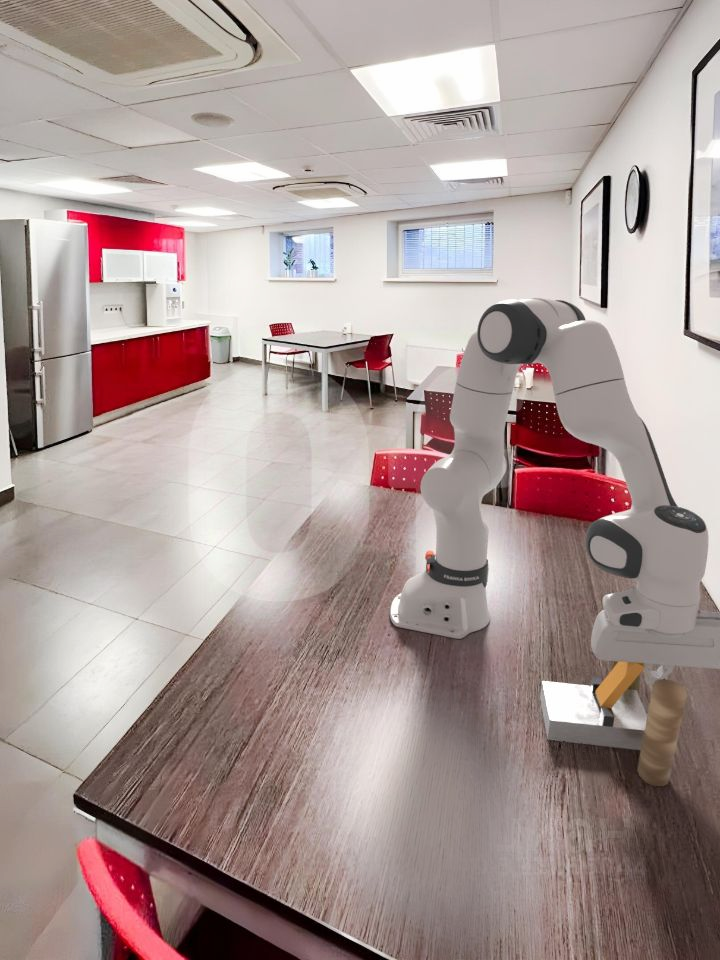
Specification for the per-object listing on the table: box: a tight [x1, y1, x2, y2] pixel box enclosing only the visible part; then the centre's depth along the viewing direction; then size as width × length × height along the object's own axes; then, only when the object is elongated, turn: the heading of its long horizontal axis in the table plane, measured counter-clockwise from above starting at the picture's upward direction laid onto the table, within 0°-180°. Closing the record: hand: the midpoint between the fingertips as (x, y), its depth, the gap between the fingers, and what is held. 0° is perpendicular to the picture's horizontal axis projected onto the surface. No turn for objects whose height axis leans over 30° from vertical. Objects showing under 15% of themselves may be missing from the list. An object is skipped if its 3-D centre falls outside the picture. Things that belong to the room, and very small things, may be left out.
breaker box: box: [539, 675, 648, 751], centre depth 99 cm, size 16×10×6 cm, turn 81°
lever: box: [595, 662, 645, 711], centre depth 97 cm, size 2×4×11 cm, turn 170°
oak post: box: [636, 678, 688, 787], centre depth 87 cm, size 4×4×16 cm
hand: (652, 683), depth 96 cm, fingers closed
